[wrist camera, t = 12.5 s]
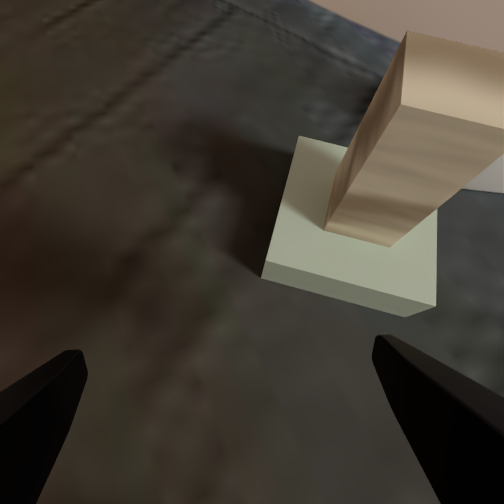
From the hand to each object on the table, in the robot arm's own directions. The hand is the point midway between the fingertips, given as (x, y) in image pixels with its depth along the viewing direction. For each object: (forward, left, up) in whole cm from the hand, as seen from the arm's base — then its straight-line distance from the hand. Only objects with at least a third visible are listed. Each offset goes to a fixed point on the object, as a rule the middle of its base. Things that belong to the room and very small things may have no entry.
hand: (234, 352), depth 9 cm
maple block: (+11, -10, -10) cm, 18 cm away
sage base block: (+11, -10, -14) cm, 20 cm away
